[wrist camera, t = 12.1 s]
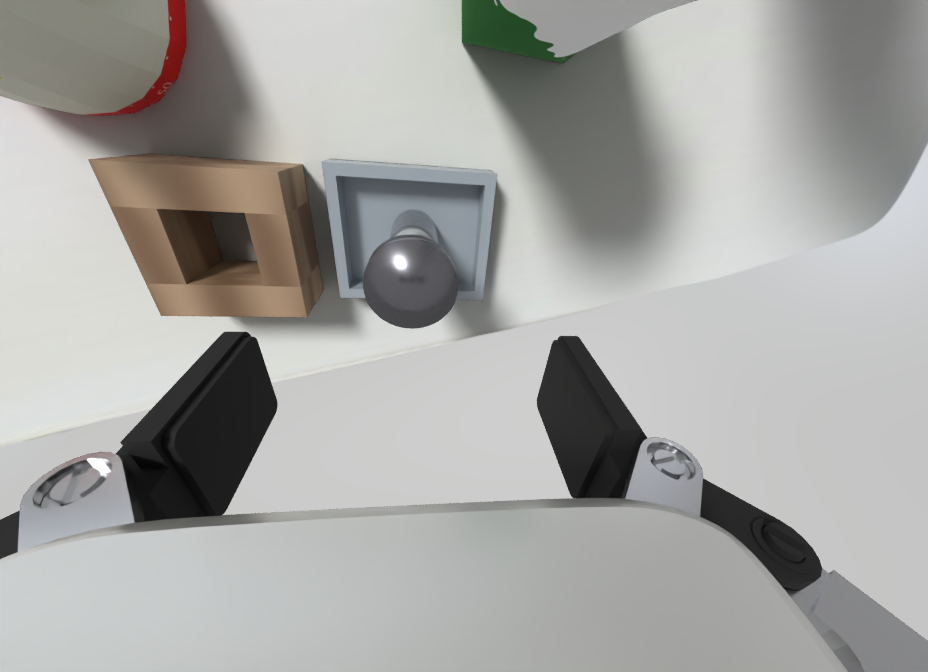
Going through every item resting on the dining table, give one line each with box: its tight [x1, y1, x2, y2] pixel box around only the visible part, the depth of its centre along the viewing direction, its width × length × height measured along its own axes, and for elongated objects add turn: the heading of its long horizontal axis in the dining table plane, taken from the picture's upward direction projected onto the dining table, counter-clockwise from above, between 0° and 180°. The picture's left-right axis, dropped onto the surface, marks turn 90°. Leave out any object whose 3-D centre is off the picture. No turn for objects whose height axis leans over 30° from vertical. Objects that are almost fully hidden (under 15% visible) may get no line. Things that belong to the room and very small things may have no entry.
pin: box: [363, 210, 458, 328], centre depth 22 cm, size 5×5×11 cm
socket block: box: [88, 154, 323, 317], centre depth 24 cm, size 10×10×5 cm
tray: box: [322, 159, 497, 300], centre depth 26 cm, size 12×10×2 cm
